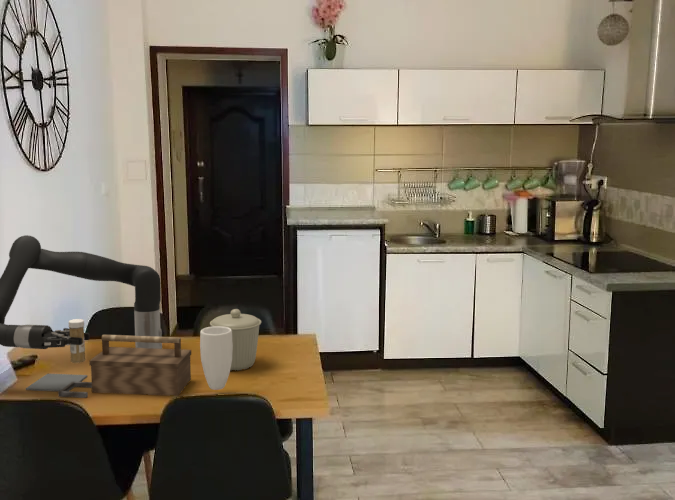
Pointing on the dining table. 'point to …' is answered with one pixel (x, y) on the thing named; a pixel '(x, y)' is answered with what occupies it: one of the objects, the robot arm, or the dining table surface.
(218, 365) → the cup
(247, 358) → the canister
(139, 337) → the toolbox
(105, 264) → the robot arm
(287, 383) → the dining table surface
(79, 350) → the sprinkles bottle
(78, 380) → the slate mat
